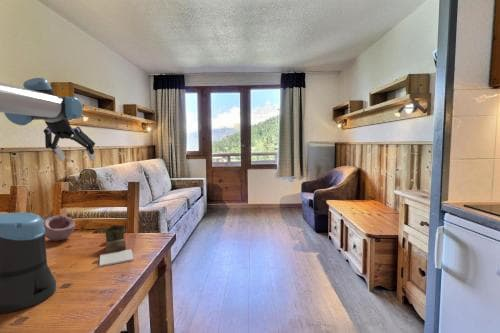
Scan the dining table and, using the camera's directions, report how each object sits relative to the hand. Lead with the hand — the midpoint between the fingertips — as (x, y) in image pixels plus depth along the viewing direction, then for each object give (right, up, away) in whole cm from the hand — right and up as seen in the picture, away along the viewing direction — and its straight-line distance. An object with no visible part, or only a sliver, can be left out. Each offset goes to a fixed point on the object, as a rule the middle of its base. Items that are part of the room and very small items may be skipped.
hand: (78, 159), depth 121 cm
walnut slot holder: (+20, -37, -7) cm, 42 cm away
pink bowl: (-9, -36, 0) cm, 37 cm away
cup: (+20, -37, -7) cm, 42 cm away
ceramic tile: (+27, -38, -19) cm, 50 cm away
